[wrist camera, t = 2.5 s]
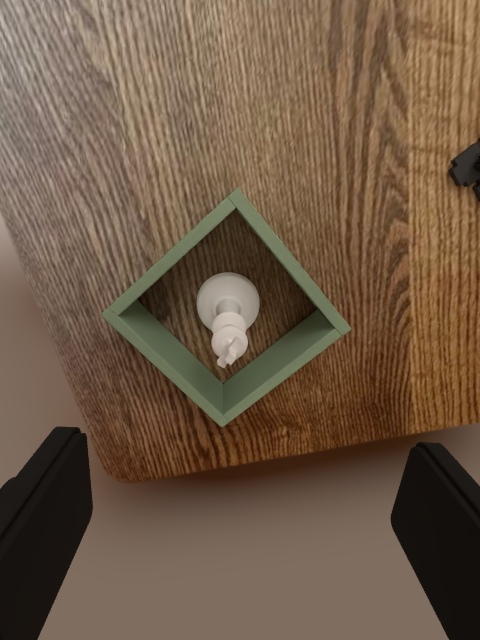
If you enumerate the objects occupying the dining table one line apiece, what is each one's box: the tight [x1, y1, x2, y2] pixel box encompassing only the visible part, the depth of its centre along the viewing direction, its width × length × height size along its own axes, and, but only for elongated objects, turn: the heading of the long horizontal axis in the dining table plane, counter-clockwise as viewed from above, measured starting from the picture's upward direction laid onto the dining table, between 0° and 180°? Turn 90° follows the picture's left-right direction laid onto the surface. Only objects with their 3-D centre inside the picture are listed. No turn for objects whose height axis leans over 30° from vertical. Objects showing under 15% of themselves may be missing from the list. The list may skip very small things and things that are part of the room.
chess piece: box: [196, 272, 260, 368], centre depth 21 cm, size 5×5×10 cm
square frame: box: [101, 187, 351, 427], centre depth 24 cm, size 12×12×4 cm
